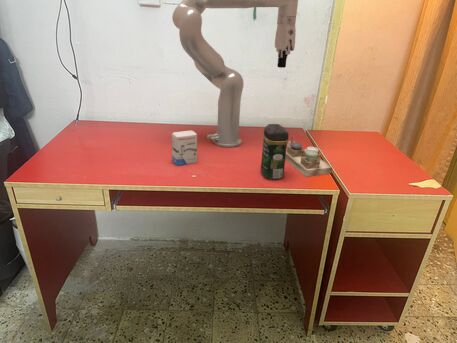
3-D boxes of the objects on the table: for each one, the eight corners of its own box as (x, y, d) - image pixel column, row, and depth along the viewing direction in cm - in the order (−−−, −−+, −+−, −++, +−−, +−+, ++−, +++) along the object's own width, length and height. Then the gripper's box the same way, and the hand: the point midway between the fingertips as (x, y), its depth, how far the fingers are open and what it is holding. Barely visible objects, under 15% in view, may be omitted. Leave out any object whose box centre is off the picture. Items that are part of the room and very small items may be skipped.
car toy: (297, 150, 149) (299, 140, 147) (282, 148, 151) (283, 138, 149) (301, 139, 162) (302, 130, 160) (287, 137, 164) (288, 128, 162)
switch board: (305, 176, 125) (307, 164, 123) (282, 157, 141) (283, 145, 138) (331, 173, 129) (333, 161, 127) (306, 154, 144) (307, 143, 142)
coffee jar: (257, 169, 129) (262, 122, 121) (278, 168, 131) (283, 122, 123) (264, 181, 121) (269, 131, 113) (285, 180, 122) (292, 131, 114)
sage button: (308, 165, 125) (309, 155, 123) (301, 160, 129) (303, 150, 127) (318, 164, 127) (320, 154, 125) (312, 159, 130) (313, 149, 129)
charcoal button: (293, 156, 135) (294, 146, 133) (287, 152, 139) (289, 142, 137) (302, 155, 136) (304, 145, 135) (297, 151, 140) (298, 141, 138)
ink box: (176, 166, 129) (175, 136, 123) (172, 161, 133) (171, 132, 127) (197, 162, 132) (197, 134, 127) (192, 157, 136) (192, 129, 131)
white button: (309, 161, 132) (310, 151, 130) (303, 156, 135) (304, 147, 134) (319, 160, 133) (320, 150, 131) (313, 155, 137) (314, 146, 135)
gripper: (303, 22, 135) (297, 70, 143) (286, 20, 147) (281, 64, 155) (286, 21, 132) (281, 70, 140) (270, 19, 145) (266, 64, 153)
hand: (281, 67), depth 148 cm, fingers closed
